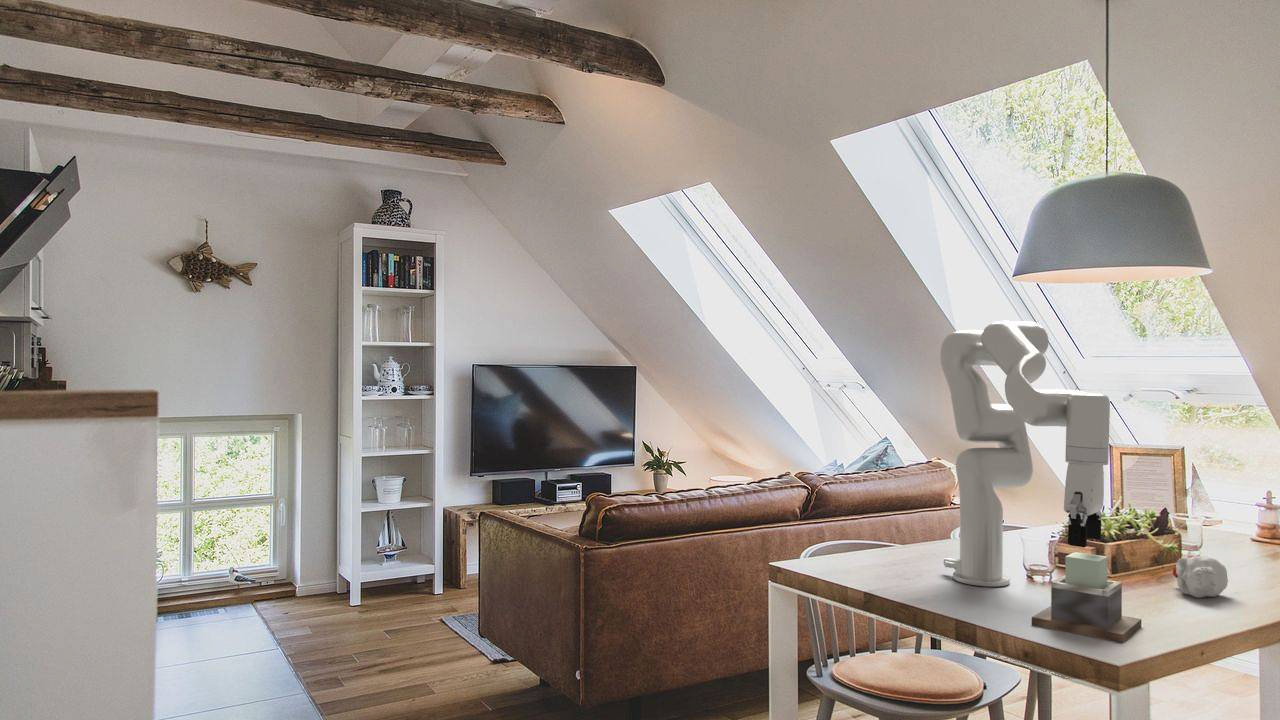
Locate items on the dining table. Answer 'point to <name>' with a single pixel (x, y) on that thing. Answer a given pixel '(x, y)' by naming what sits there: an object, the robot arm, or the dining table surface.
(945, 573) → the dining table surface
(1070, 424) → the robot arm
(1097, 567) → the sage block
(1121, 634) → the pillar base
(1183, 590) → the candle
